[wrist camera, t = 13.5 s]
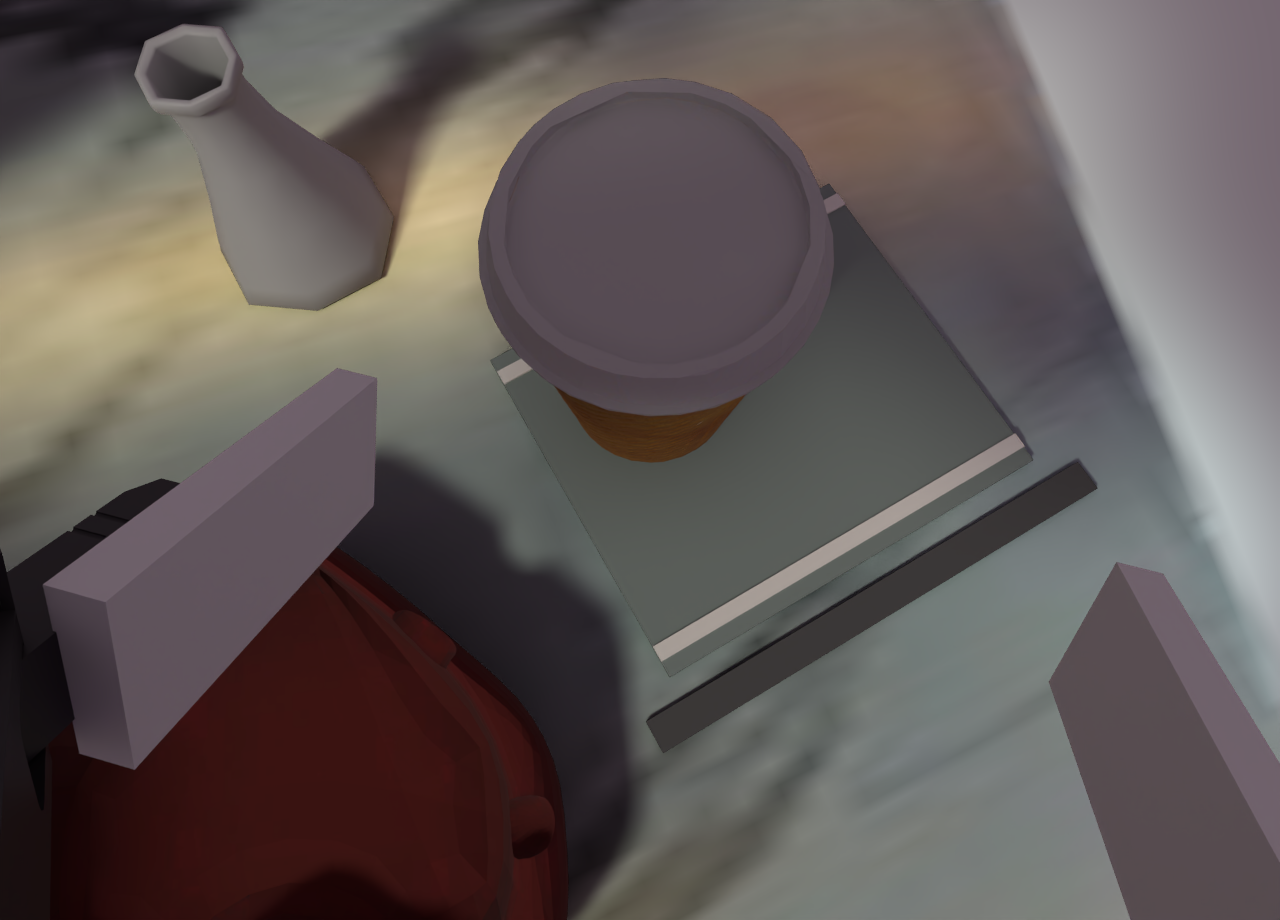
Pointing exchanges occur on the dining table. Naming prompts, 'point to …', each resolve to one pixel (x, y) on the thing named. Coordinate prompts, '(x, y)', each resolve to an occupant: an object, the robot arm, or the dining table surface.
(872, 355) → the mat
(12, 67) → the dining table surface
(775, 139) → the disposable coffee cup
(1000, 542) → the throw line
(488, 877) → the ashtray
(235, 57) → the flask
